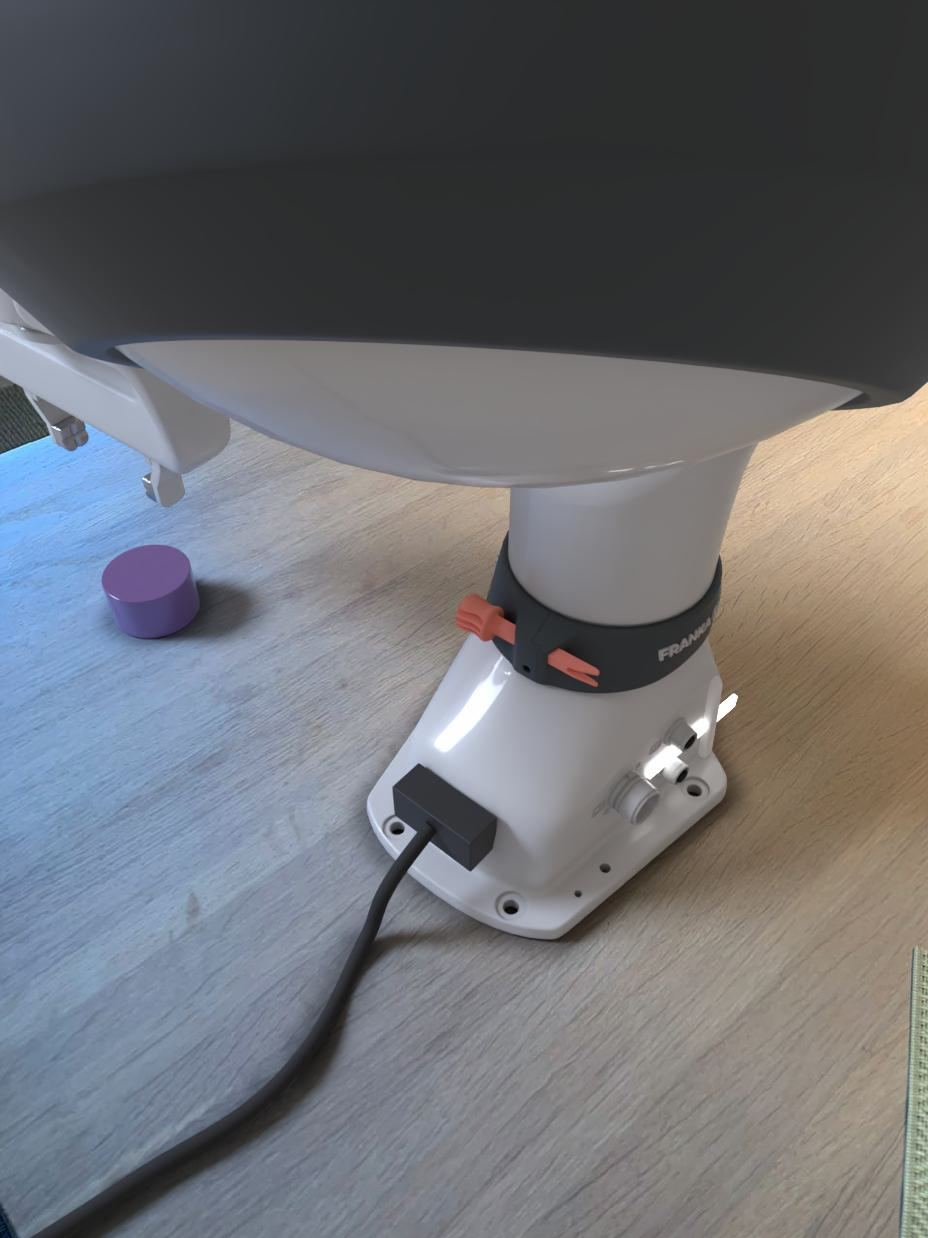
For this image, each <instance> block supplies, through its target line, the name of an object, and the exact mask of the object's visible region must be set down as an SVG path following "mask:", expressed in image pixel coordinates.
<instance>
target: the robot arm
mask: <svg viewBox="0 0 928 1238" xmlns="http://www.w3.org/2000/svg"><path fill="white" fill-rule="evenodd" d="M0 376H1V377H2V378H4V379H5V380H8V381H10V382H11V383H13V384H15V385H17V386H19V387H20V388H22V389H23V392H24V395H25V396H26V398H27V400H28V401H29V402H30V404H31V406H32V407H33V408H34V410H36V413H38V415H39V416H40V418H41V419H42V421H43V422H44V423H45V425H46V427H47V430H48V433H49V436H50V439H51V441H52V443H53V444H55V445H57V446H58V447H61V448H63V449H64V450H66V451H68V452H74V451H76V450H77V449H78V447H79V448H80V447H83V446H85V445H86V444H87V443H88V441H89V440H90V439H89V438H90V435H89V433H88V431H87V430H86V427H87V426H86V424H87V425H89V426H91V427H92V428H94V429H96V430H98V431H100V432H101V433H103V434H105V435H106V436H108V437H109V438H112V439H114V440H115V441H117V442H119V443H121V444H122V445H124V446H126V447H128V448H130V449H132V450H133V451H135V452H137V453H139V454H141V455H142V456H143V458H144V461H145V462H146V464H148V465H149V466H151V472H149V473H147V474H146V475H144V476H142V477H141V481H142V484H143V487H144V489H145V490H146V491H145V494H146V495H145V496H146V497H147V498H148V499H149V500H151V501H153V502H154V503H156V504H158V505H159V506H161V507H163V508H170V507H172V506H173V505H175V504H176V503H178V502H179V501H181V500H182V499H183V498H184V496H185V494H186V490H185V489H186V488H185V484H184V481H183V477H182V475H186V474H189V473H191V472H193V471H194V470H196V469H198V468H199V467H201V466H203V465H205V464H207V463H208V462H209V461H212V459H214V458H215V457H217V456H218V455H220V454H221V453H222V452H223V451H224V450H225V449H226V447H227V445H228V444H229V442H230V439H231V435H232V432H231V430H232V429H231V428H232V427H231V421H230V419H231V420H233V421H234V422H237V423H238V424H241V425H243V426H245V427H247V428H249V429H251V430H253V431H256V432H257V433H258V434H259V433H260V434H262V435H263V436H266V437H268V438H270V439H272V440H275V441H278V442H281V443H283V444H286V445H288V446H292V447H294V448H296V449H300V450H303V451H306V452H308V453H311V454H314V455H317V456H320V457H322V458H325V459H328V460H331V461H333V462H337V463H340V464H342V465H346V466H350V467H354V468H359V469H362V470H363V469H364V470H367V471H373V472H377V473H381V474H384V475H385V474H386V475H390V476H393V477H398V478H402V479H407V480H412V481H416V482H424V483H436V484H444V485H454V486H461V487H463V486H464V487H473V488H483V489H484V488H490V489H491V488H492V489H509V515H508V530H507V531H506V533H505V535H504V538H503V541H502V544H501V547H500V550H499V553H498V554H497V556H496V557H497V559H496V560H495V562H494V565H493V567H492V572H491V575H492V578H491V581H490V585H489V589H488V593H487V596H486V599H485V598H484V597H482V596H481V595H479V594H477V593H471V594H468V595H467V596H466V597H465V598H464V599H463V600H462V601H461V603H460V604H459V606H458V609H457V611H456V613H455V618H454V623H455V626H456V628H458V629H460V630H461V631H464V632H467V633H469V634H468V636H467V638H466V639H465V641H464V643H463V645H462V646H461V648H460V649H459V651H458V653H457V655H456V656H455V658H454V660H453V662H452V663H451V665H450V667H449V668H448V670H447V672H446V673H445V676H444V677H443V678H442V680H441V682H440V684H439V685H438V687H437V688H436V690H435V692H434V694H433V696H432V698H431V700H430V701H429V703H428V705H427V706H426V708H425V709H424V711H423V713H422V715H421V716H420V718H419V721H418V723H417V724H416V726H415V728H414V729H413V730H412V732H411V734H410V735H409V736H408V737H407V739H406V741H405V742H404V743H403V745H402V746H401V748H400V749H399V750H398V751H397V753H396V755H395V756H394V757H393V759H392V760H391V761H390V764H389V765H388V766H387V768H386V769H385V771H384V772H383V773H382V774H381V776H380V777H379V779H378V781H377V782H376V783H375V785H374V787H372V790H371V791H370V793H369V795H368V796H367V800H366V813H367V816H368V819H369V823H370V825H371V828H372V830H373V831H374V834H375V835H376V837H377V839H378V841H379V842H380V844H381V845H382V847H383V848H384V849H385V851H386V852H387V854H389V856H390V857H391V858H392V859H393V860H394V861H393V863H392V865H391V867H390V868H389V870H388V871H387V872H386V874H385V875H384V877H383V879H382V880H381V882H380V884H379V886H378V887H377V890H376V892H375V893H374V896H373V898H372V900H371V903H370V906H369V910H368V913H367V916H366V919H365V922H364V924H363V927H362V929H361V931H360V933H359V935H358V937H357V939H356V941H355V943H354V945H353V948H352V949H351V951H350V954H349V955H348V958H347V959H346V962H345V965H344V966H343V969H342V971H341V973H340V976H339V978H338V979H337V982H336V984H335V986H334V988H333V990H332V992H331V995H330V997H329V999H328V1000H327V1002H326V1004H325V1006H324V1008H323V1010H322V1012H321V1014H320V1015H319V1016H318V1018H317V1021H316V1022H315V1024H314V1026H313V1027H312V1029H311V1030H310V1031H309V1033H308V1035H307V1036H306V1037H305V1039H304V1040H303V1042H302V1043H301V1044H300V1045H299V1046H298V1048H297V1050H296V1051H295V1052H294V1053H293V1054H292V1056H291V1057H290V1058H289V1059H288V1060H287V1062H285V1064H284V1065H283V1066H282V1067H281V1068H280V1069H279V1071H278V1072H277V1073H275V1074H274V1076H273V1077H271V1078H270V1080H268V1082H267V1083H266V1084H264V1085H263V1086H262V1087H261V1088H259V1090H258V1091H257V1092H256V1093H254V1094H253V1095H252V1096H250V1098H248V1099H247V1100H245V1102H243V1103H242V1104H241V1105H239V1106H238V1107H236V1108H235V1109H234V1110H232V1111H231V1112H229V1113H227V1114H226V1115H225V1116H223V1117H221V1118H220V1119H219V1120H216V1121H215V1122H214V1123H212V1124H210V1125H208V1126H207V1127H205V1128H204V1129H201V1130H200V1131H199V1132H196V1133H195V1134H194V1135H191V1136H190V1137H188V1138H186V1139H185V1140H183V1141H181V1142H179V1143H178V1144H176V1145H174V1146H172V1147H171V1148H169V1149H167V1150H165V1151H163V1152H162V1153H160V1154H159V1155H157V1156H155V1157H154V1158H152V1159H151V1160H149V1161H147V1162H145V1163H144V1164H142V1165H141V1166H139V1167H138V1168H136V1169H134V1170H133V1171H131V1172H129V1173H128V1174H126V1175H125V1176H124V1177H122V1178H121V1179H119V1180H118V1181H116V1182H115V1183H113V1184H111V1185H110V1186H109V1187H107V1188H106V1189H104V1190H103V1191H101V1192H100V1193H98V1194H96V1195H95V1196H93V1197H92V1198H90V1199H89V1200H87V1201H85V1202H84V1203H82V1204H81V1205H79V1206H78V1207H76V1208H74V1209H73V1210H72V1211H70V1212H68V1213H67V1214H65V1215H64V1216H62V1217H60V1218H59V1219H57V1220H56V1221H54V1222H52V1223H50V1224H49V1225H47V1226H46V1227H44V1228H43V1229H42V1230H39V1231H38V1232H37V1233H35V1234H33V1235H32V1236H30V1237H29V1238H68V1237H70V1236H72V1235H74V1234H75V1233H77V1232H78V1231H79V1230H81V1229H83V1228H84V1227H86V1226H87V1225H89V1224H90V1223H92V1222H93V1221H95V1220H96V1219H99V1217H101V1216H102V1215H104V1214H106V1213H107V1212H109V1211H110V1210H111V1209H113V1208H114V1207H116V1206H118V1205H119V1204H121V1203H122V1202H124V1201H125V1200H127V1199H128V1198H130V1197H132V1196H133V1195H134V1194H136V1193H137V1192H138V1191H140V1190H142V1189H144V1188H145V1187H146V1186H148V1185H149V1184H151V1183H153V1182H154V1181H156V1180H158V1178H160V1177H162V1176H164V1175H166V1174H167V1173H169V1172H171V1171H172V1170H174V1169H175V1168H177V1167H179V1166H181V1165H182V1164H184V1163H186V1162H187V1161H189V1160H191V1159H192V1158H194V1157H196V1156H198V1155H200V1154H201V1153H203V1152H205V1151H207V1150H208V1149H210V1148H212V1147H213V1146H215V1145H216V1144H218V1143H220V1142H221V1141H223V1140H225V1139H226V1138H227V1137H230V1136H231V1135H233V1134H234V1133H235V1132H237V1131H239V1130H240V1129H241V1128H242V1127H244V1126H245V1125H247V1124H248V1123H250V1122H251V1121H252V1120H253V1119H254V1118H256V1117H257V1116H258V1115H260V1114H261V1113H262V1112H263V1111H264V1110H265V1109H267V1108H268V1107H269V1106H270V1105H271V1104H272V1103H273V1102H274V1101H276V1100H277V1098H279V1097H280V1096H281V1095H282V1094H283V1093H284V1091H286V1089H288V1088H289V1086H290V1085H291V1084H292V1083H294V1081H296V1079H297V1078H298V1077H299V1075H300V1074H301V1073H302V1072H303V1070H304V1069H305V1068H306V1067H307V1066H308V1065H309V1063H310V1062H311V1060H312V1059H313V1058H314V1057H315V1055H316V1054H317V1052H318V1051H319V1050H320V1048H321V1047H322V1045H323V1044H324V1042H325V1040H326V1039H327V1037H328V1036H329V1034H330V1032H331V1031H332V1030H333V1027H334V1025H335V1024H336V1022H337V1020H338V1018H339V1017H340V1014H341V1012H342V1011H343V1007H344V1005H345V1003H346V1001H347V999H348V996H349V994H350V992H351V990H352V987H353V985H354V983H355V981H356V979H357V977H358V975H359V973H360V972H361V969H362V967H363V965H364V962H365V960H366V958H367V956H368V954H369V952H370V950H371V948H372V946H373V943H374V941H375V939H376V937H377V935H378V933H379V931H380V928H381V925H382V923H383V919H384V916H385V913H386V910H387V908H388V906H389V903H390V900H391V899H392V897H393V895H394V893H395V891H396V890H397V888H398V886H399V884H400V883H401V882H402V880H403V878H404V877H405V875H406V874H408V875H409V876H410V877H412V878H413V879H414V880H415V881H417V882H418V883H419V884H420V885H422V886H423V887H424V888H426V889H427V890H428V891H429V892H430V893H432V894H434V895H435V896H436V897H438V898H439V899H441V900H442V901H444V902H445V903H447V904H448V905H450V906H451V907H453V908H454V909H456V910H458V911H459V912H461V913H462V914H465V915H466V916H468V917H469V918H472V919H473V920H475V921H478V922H479V923H482V924H484V925H487V926H489V927H491V928H493V929H495V930H499V931H502V932H504V933H507V934H510V935H514V936H519V937H524V938H529V939H537V940H556V939H559V938H561V937H562V936H564V935H565V934H567V933H568V932H569V931H570V930H572V929H573V928H574V927H575V926H576V925H578V924H579V923H580V922H581V921H583V920H584V919H585V918H586V917H587V916H588V915H590V914H591V913H592V912H593V911H594V910H596V909H597V908H598V907H599V906H600V905H601V904H602V903H604V902H605V901H606V900H608V899H609V898H610V897H611V896H612V895H613V894H614V893H616V892H617V891H618V890H619V889H620V888H621V887H622V886H624V885H625V884H626V883H627V882H628V881H629V880H631V879H632V878H633V877H634V876H635V875H637V874H638V873H639V872H640V871H641V870H642V869H644V868H645V867H646V866H647V865H648V864H649V863H650V862H652V861H653V860H654V859H655V858H657V857H658V856H659V855H660V854H661V853H662V852H663V851H664V850H666V849H668V847H669V846H671V845H672V844H673V843H674V842H676V840H678V839H679V838H681V836H683V835H684V834H685V833H686V832H687V831H688V830H689V829H691V828H692V827H693V826H694V825H695V824H696V823H698V822H699V821H700V820H702V819H703V818H704V817H705V816H706V815H707V814H708V813H709V812H711V810H713V809H714V808H715V807H716V806H718V805H719V804H720V803H721V802H722V801H723V800H724V798H725V796H726V794H727V787H728V778H727V774H726V772H725V769H724V768H723V765H722V764H721V763H720V761H719V759H718V758H717V756H716V754H715V752H714V751H713V746H714V741H715V734H716V728H717V723H718V722H719V721H720V720H721V719H722V718H723V717H725V716H726V715H727V714H728V713H729V712H730V711H731V710H733V708H735V707H736V703H737V700H738V695H736V693H732V694H731V695H730V696H728V698H726V699H725V700H724V701H723V702H721V698H722V693H723V685H724V683H723V681H722V679H721V673H720V671H719V669H718V665H717V663H716V661H715V657H714V654H713V650H712V647H711V643H710V640H709V634H710V632H711V630H712V627H713V622H714V619H715V617H716V615H717V612H718V609H719V606H720V601H721V595H722V579H723V562H722V556H721V554H720V553H721V549H722V546H723V542H724V538H725V534H726V532H727V527H728V524H729V520H730V517H731V514H732V510H733V508H734V504H735V501H736V499H737V494H738V492H739V489H740V487H741V483H742V480H743V477H744V474H745V472H746V470H747V468H748V466H749V463H750V460H751V459H752V456H753V454H754V453H755V451H756V449H757V447H758V445H759V444H760V443H762V442H765V441H767V440H770V439H772V438H774V437H776V436H778V435H780V434H782V433H784V432H787V431H789V430H792V429H793V428H795V427H797V426H800V425H802V424H805V423H807V422H809V421H811V420H813V419H815V418H817V417H819V416H821V415H823V414H825V413H827V412H832V411H833V412H834V411H853V410H864V409H874V408H881V407H887V406H892V405H896V404H900V403H903V402H905V401H906V400H908V399H909V398H912V397H913V396H914V395H915V394H916V393H917V392H919V390H921V389H922V388H923V387H924V386H925V385H926V384H928V0H0ZM690 793H694V794H696V795H698V796H694V795H691V794H690ZM396 830H401V831H403V832H402V833H400V834H394V833H393V832H394V831H396ZM510 907H511V908H514V909H516V910H517V912H515V913H513V914H510V913H507V912H506V911H505V909H507V908H510Z"/></svg>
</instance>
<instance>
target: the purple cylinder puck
mask: <svg viewBox="0 0 928 1238" xmlns="http://www.w3.org/2000/svg"><path fill="white" fill-rule="evenodd" d="M101 574H102V575H101V580H100V581H101V587H102V589H103V592H104V595H105V598H106V601H107V603H108V606H109V609H110V612H111V615H112V618H113V620H114V623H115V626H116V627H117V628H118V629H119V630H120V631H122V632H123V633H124V634H126V635H127V636H131V637H134V638H137V639H138V638H140V639H158V638H162V637H163V638H164V637H166V636H170V635H171V634H174V633H177V632H179V631H181V630H182V629H184V628H185V627H186V626H188V625H189V624H190V623H191V622H192V621H193V620H194V619H195V618H196V616H197V614H198V613H199V610H200V606H201V600H200V594H199V592H198V588H197V584H196V580H195V577H194V572H193V569H192V564H191V562H190V559H189V557H188V556H187V555H186V554H185V553H184V552H183V551H181V550H180V549H178V548H177V547H173V546H170V545H166V544H144V545H140V546H137V547H132V548H131V549H128V550H125V551H123V552H122V553H120V554H117V556H115V557H114V558H113V559H112V560H111V561H109V562H108V564H107V565H106V566H105V568H104V569H103V571H102V573H101Z"/></svg>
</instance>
